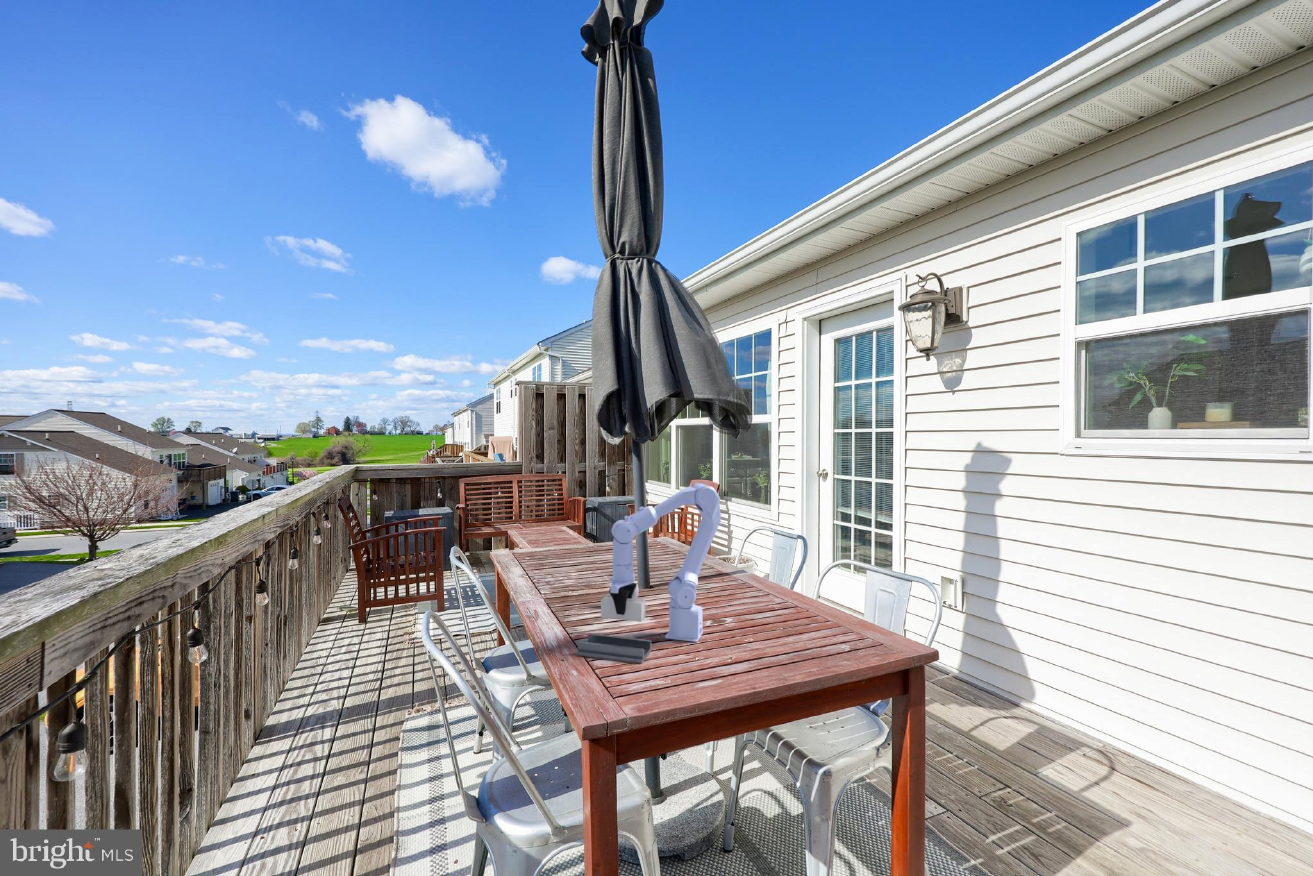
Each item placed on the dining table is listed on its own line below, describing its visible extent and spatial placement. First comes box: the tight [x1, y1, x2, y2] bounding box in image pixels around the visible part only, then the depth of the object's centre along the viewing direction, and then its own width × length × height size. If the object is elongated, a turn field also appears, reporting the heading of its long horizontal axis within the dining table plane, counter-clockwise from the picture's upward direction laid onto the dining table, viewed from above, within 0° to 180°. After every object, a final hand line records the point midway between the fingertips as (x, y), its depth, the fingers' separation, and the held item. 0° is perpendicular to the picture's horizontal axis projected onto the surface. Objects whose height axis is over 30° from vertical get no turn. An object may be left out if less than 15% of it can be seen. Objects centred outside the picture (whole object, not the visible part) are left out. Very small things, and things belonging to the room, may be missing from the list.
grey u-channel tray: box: [576, 632, 653, 665], centre depth 143 cm, size 18×9×3 cm, turn 73°
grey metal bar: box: [600, 595, 646, 623], centre depth 152 cm, size 12×4×5 cm, turn 73°
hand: (623, 611), depth 152 cm, fingers closed on grey metal bar, 3 cm apart
